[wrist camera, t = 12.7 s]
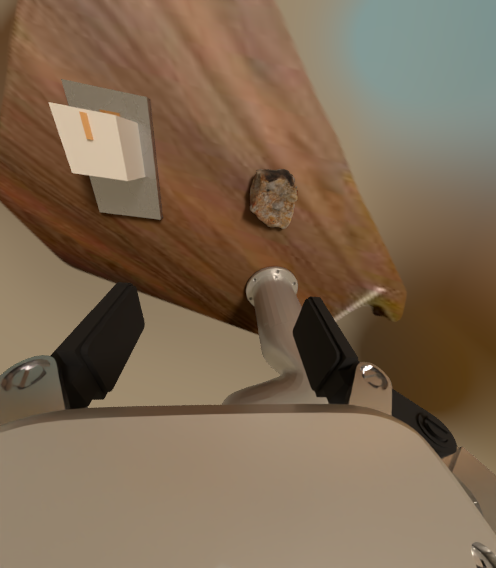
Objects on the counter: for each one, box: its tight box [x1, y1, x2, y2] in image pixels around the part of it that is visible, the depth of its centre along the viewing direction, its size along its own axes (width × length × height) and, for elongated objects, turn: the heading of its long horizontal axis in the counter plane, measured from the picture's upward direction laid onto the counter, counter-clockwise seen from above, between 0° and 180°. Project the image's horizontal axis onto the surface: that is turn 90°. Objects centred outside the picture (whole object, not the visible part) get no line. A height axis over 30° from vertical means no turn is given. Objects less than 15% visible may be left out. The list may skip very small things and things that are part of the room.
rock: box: [250, 169, 298, 229], centre depth 32 cm, size 9×6×10 cm
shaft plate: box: [61, 79, 163, 220], centre depth 27 cm, size 16×10×4 cm, turn 171°
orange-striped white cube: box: [49, 102, 145, 181], centre depth 24 cm, size 7×7×6 cm
